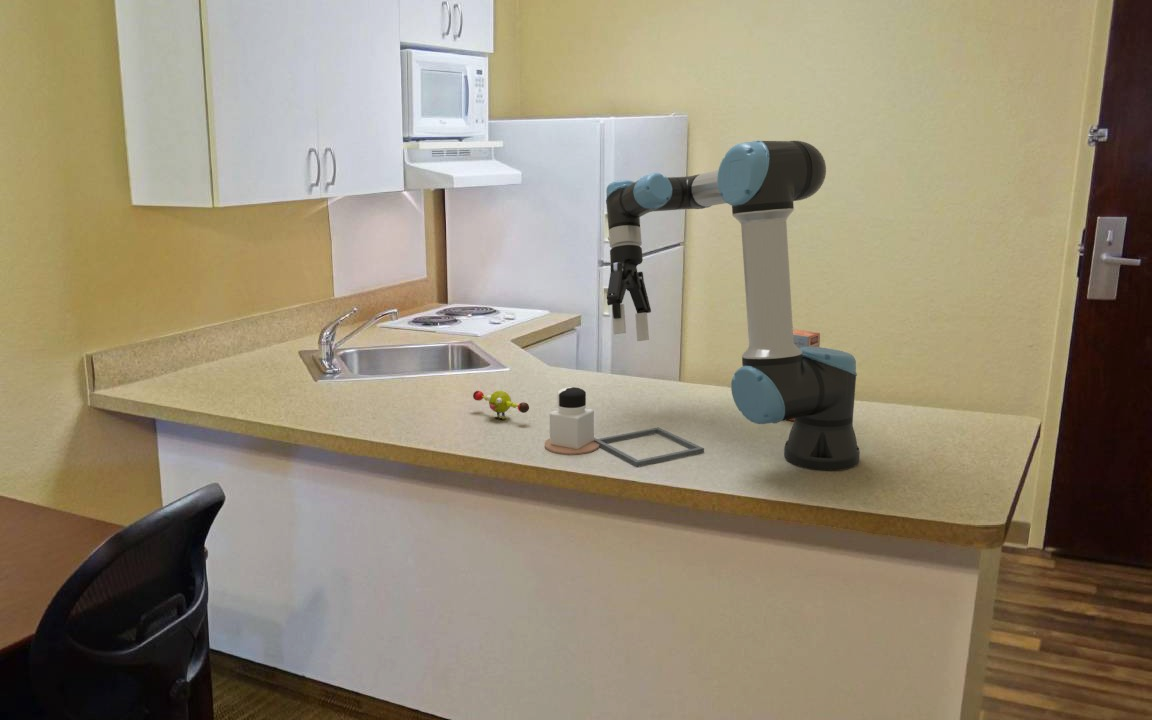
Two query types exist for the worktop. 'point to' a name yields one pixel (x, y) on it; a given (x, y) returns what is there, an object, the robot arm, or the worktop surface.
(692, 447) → the gray square frame
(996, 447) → the worktop surface
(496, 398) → the toy figure
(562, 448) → the coaster
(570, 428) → the medicine bottle
